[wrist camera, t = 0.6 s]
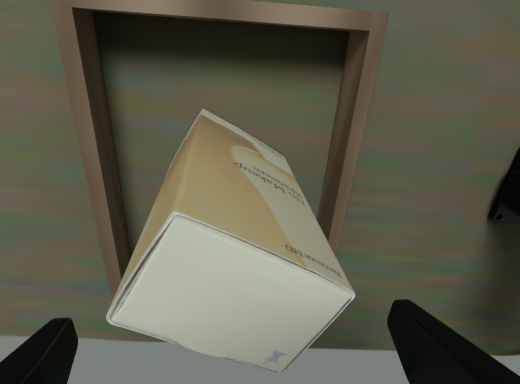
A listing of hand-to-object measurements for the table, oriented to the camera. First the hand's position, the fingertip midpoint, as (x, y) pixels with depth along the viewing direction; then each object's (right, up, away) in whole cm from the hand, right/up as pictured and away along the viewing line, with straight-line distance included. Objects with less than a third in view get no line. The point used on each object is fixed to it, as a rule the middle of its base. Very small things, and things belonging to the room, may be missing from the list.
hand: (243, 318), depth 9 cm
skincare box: (-2, +6, +11) cm, 13 cm away
